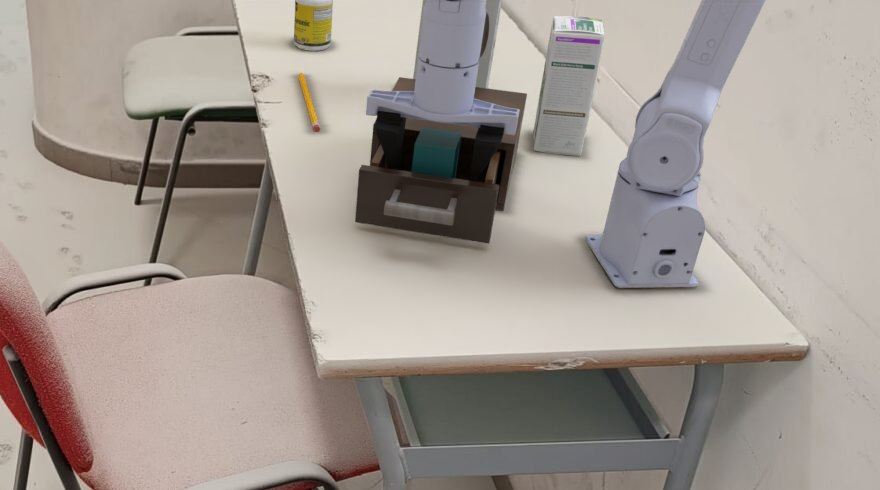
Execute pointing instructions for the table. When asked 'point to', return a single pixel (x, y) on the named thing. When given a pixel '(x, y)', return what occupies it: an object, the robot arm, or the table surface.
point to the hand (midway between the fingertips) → (431, 189)
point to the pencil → (309, 103)
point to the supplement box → (487, 42)
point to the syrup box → (568, 84)
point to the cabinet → (472, 130)
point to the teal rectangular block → (436, 152)
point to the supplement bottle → (313, 24)
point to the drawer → (429, 196)
